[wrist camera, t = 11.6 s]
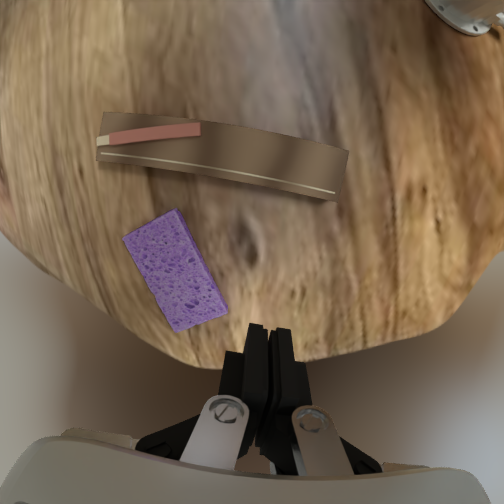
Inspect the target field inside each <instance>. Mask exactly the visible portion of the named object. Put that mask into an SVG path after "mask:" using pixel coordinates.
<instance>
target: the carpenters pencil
mask: <svg viewBox="0 0 504 504" xmlns="http://www.w3.org/2000/svg"><path fill="white" fill-rule="evenodd" d="M193 136H201V123H200V122H198V123H186V124H175V125H165V126H156V127H148V128H140V129H133V130H126V131H120V132H114V133H109V135H105V136H100V137H96V139H97V146H102V145H119V144H126V143H133V142H141V141H150V140H159V139H169V138H180V137H193Z"/></svg>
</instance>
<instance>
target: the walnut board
mask: <svg viewBox="0 0 504 504" xmlns="http://www.w3.org/2000/svg"><path fill="white" fill-rule="evenodd" d="M198 122H200V123H201V136H193V137H180V138H169V139H159V140H150V141H141V142H133V143H126V144H119V145H102V146H98V149H97V156H96V161H105V162H114V163H122V164H130V165H138V166H146V167H153V168H160V169H167V170H174V171H181V172H187V173H193V174H199V175H205V176H211V177H217V178H223V179H228V180H234V181H239V182H245V183H250V184H255V185H260V186H265V187H270V188H275V189H280V190H285V191H289V192H294V193H298V194H303V195H307V196H312V197H316V198H321V199H325V200H329V201H333V202H337V203H338V199H339V195H340V191H341V186H342V182H343V177H344V173H345V168H346V164H347V159H348V154H349V151H348V150H344V149H340V148H337V147H333V146H329V145H325V144H321V143H317V142H313V141H309V140H305V139H301V138H296V137H292V136H288V135H283V134H278V133H273V132H268V131H263V130H258V129H253V128H247V127H242V126H236V125H230V124H223V123H217V122H210V121H203V120H195V119H187V118H179V117H169V116H159V115H147V114H134V113H116V112H104V113H103V118H102V124H101V130H100V136H105V135H109V133H114V132H120V131H126V130H133V129H140V128H148V127H156V126H165V125H175V124H186V123H198ZM100 136H99V137H100Z"/></svg>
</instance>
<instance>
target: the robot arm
mask: <svg viewBox="0 0 504 504" xmlns="http://www.w3.org/2000/svg"><path fill="white" fill-rule="evenodd" d="M425 2H426V3H427V4H428V5H429V7H430V8H431V9H432V10H433V11H434V12H435V13H436V14H437V15H438V16H439V17H440V18H441V19H442V20H444V21H445V22H446V23H447V24H449V25H450V26H452V27H453V28H455V29H456V30H458V31H460V32H462V33H465V34H468V35H473V36H478V35H482V34H484V33H486V32H487V31H489V30H490V28H491V25H492V23H494V24H495V25H497V26H502V27H503V29H504V0H425ZM254 437H255V447H260V455H264V456H265V457H267V458H268V459H269V460H270V461H271V463H270V470H271V474H261V473H250V472H241V471H234V470H233V469H234V466H235V463H236V460H237V459H239V458H240V457H242V456H244V455H246V454H247V452H248V449H249V446H251V445H252V443H253V440H254ZM0 504H491V502H490V500H489V498H488V496H487V494H486V492H485V490H484V488H483V487H482V485H481V483H480V482H479V481H478V479H477V478H476V477H475V476H474V475H473V474H471V473H469V472H467V471H464V470H461V469H454V468H444V467H435V468H430V467H428V466H423V465H407V464H396V463H386V462H384V463H383V464H382V465H380V464H379V463H378V462H377V461H376V460H374V459H373V458H371V457H370V456H368V455H367V454H365V453H364V452H362V451H360V450H359V449H357V448H356V447H354V446H353V445H351V444H350V443H348V442H347V441H345V440H344V439H342V438H341V437H340V436H339V435H338V433H337V430H336V428H335V425H334V423H333V420H332V418H331V416H330V415H329V414H328V413H327V412H326V411H325V410H323V409H321V408H319V407H316V406H312V400H311V394H310V388H309V382H308V376H307V370H306V365H305V363H304V362H298V361H295V359H294V351H293V344H292V336H291V330H290V329H284V328H278V327H277V328H276V331H275V330H271V332H270V336H269V340H268V330H267V329H263V325H259V324H253V323H249V327H248V332H247V337H246V341H245V346H244V351H243V353H237V352H232V351H226V353H225V359H224V365H223V370H222V376H221V382H220V387H219V393H218V396H215V397H212V398H211V399H209V400H208V401H207V402H206V404H205V406H204V408H203V410H202V412H201V414H199V415H197V416H195V417H192V418H190V419H188V420H185V421H183V422H180V423H179V424H176V425H173V426H171V427H168V428H166V429H163V430H160V431H158V432H155V433H153V434H150V435H147V436H145V437H143V438H141V439H131V436H127V435H119V434H112V433H105V432H99V431H93V430H87V429H82V428H70V429H67V430H66V431H64V432H63V433H62V434H61V436H50V437H44V438H41V439H39V440H37V441H35V442H34V443H32V444H31V445H30V446H29V447H28V448H27V449H26V450H25V451H24V452H23V453H22V455H21V456H20V457H19V459H18V460H17V461H16V463H15V464H14V466H13V467H12V469H11V470H10V472H9V473H8V475H7V477H6V479H5V480H4V482H3V484H2V486H1V487H0Z"/></svg>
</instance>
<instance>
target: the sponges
mask: <svg viewBox="0 0 504 504" xmlns="http://www.w3.org/2000/svg"><path fill="white" fill-rule="evenodd" d="M122 239H123V241H124V242H125V245H126V247H127V249H128V250H129V252H130V254H131V255H132V258H133V260H134V262H135V264H136V265H137V267H138V269H139V270H140V272H141V274H142V275H143V276H144V279H145V281H146V283H147V285H148V287H149V289H150V290H151V292H152V293H153V294H154V295H155V296H156V298H155V299H156V301H157V303H158V305H159V307H160V308H161V310H162V312H163V313H164V314H165V317H166V319H167V321H168V322H169V324H170V325H171V327H172V329H173V330H174V332H175V333H177V332H180V331H182V330H185V329H188V328H191V327H193V326H194V325H196V324H198V325H199V324H201V323H203V322H206V321H207V320H211V319H214V318H217V317H220V316H222V315H224V314H227V313H228V306H227V304H226V302H225V301H224V299H223V297H222V295H221V293H220V291H219V289H218V287H217V285H216V284H215V282H214V280H213V278H212V276H211V274H210V272H209V270H208V268H207V266H206V264H205V263H204V260H203V258H202V256H201V254H200V252H199V250H198V248H197V246H196V244H195V242H194V240H193V238H192V236H191V234H190V231H189V229H188V228H187V225H186V223H185V220H184V219H183V216H182V214H181V212H180V211H178V210H177V208H175V209H172V210H170V211H168V212H166V213H165V214H163V215H161V216H159V217H157V218H155V219H154V220H152V221H150V222H149V223H147V224H145V225H144V226H142V227H139V228H138V229H136V230H134V231H132V232H130V233H129V234H127V235H125V236H124V237H123V238H122Z"/></svg>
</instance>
